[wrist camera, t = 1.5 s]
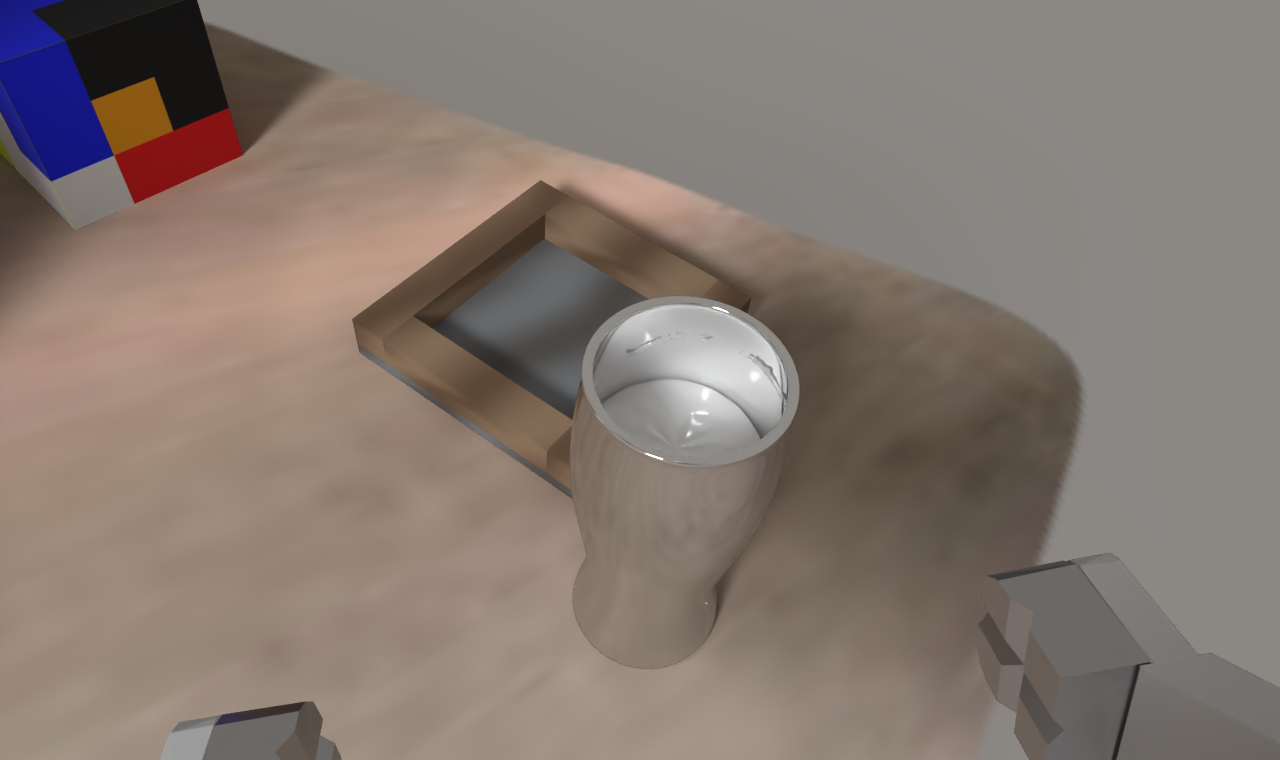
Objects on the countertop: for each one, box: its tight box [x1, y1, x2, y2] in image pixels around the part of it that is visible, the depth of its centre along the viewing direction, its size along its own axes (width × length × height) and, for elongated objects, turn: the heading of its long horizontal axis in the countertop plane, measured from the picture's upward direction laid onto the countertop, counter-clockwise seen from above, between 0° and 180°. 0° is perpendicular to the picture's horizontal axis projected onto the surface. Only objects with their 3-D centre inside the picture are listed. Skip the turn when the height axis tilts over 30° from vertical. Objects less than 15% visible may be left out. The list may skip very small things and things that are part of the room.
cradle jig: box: [352, 180, 751, 499], centre depth 47 cm, size 14×14×2 cm
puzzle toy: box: [0, 0, 242, 230], centre depth 50 cm, size 10×10×10 cm
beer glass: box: [570, 296, 800, 669], centre depth 33 cm, size 7×7×15 cm
